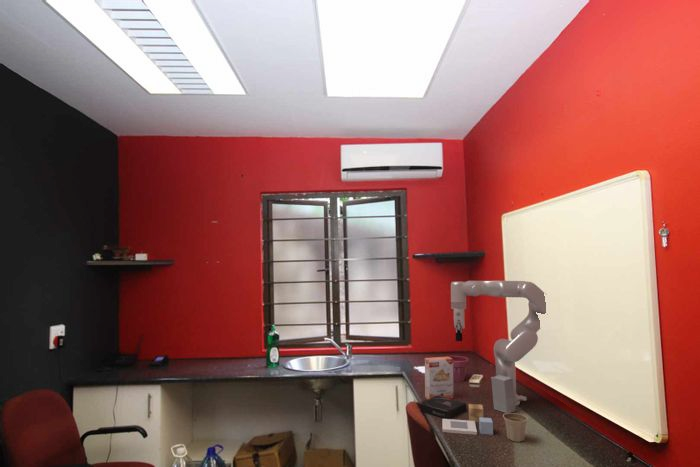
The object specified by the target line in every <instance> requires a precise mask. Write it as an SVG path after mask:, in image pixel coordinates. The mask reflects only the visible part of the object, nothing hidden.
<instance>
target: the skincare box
mask: <svg viewBox="0 0 700 467" xmlns="http://www.w3.org/2000/svg"><path fill="white" fill-rule="evenodd" d="M490 381H491V389H492V392H491V393H492V401H493V402H492V403H493V410H496V411H498V412H501V413H503V414H506V413H515V412H516V411H517V410H516V408H517V406H515V397H514V386H513V378H510V377H506V376H502V375H498V376H496V375H494V376H491V377H490Z"/></svg>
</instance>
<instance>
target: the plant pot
mask: <svg viewBox="0 0 700 467" xmlns="http://www.w3.org/2000/svg"><path fill="white" fill-rule="evenodd" d="M446 357H450V358H452V359H453V382H459V383H460V382H465V379H466V374H467V369H468V367H469V363H470V362H469V358H468V357H466V356H463V355H462V356H460V355H447V356H446Z"/></svg>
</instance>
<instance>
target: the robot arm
mask: <svg viewBox="0 0 700 467" xmlns="http://www.w3.org/2000/svg"><path fill="white" fill-rule="evenodd" d="M544 293H545V292H544V291H543V289H541V287H539V286H538V285H537V284H535V283H533V282H532V281H525V280H467V281H451V283H450V308H451V309H453V325H454V328H455V341H456V342H462V341H463V330H465V326H466V325H465V324H466V323H465V310H467V296H471V297H477V296H488V297H496V298H525V299H526V300H528V304H527V305H528V313H527V316H526V317H525V318H524V319H523V320H522V321H521V322H519V323H518V324H517V325H516V326H515V327H514V328H513V329H512V330H511V331H510V334H509V335H510V339H511V340H509V339H506V338H499V339H497V340H496V341H495V343H494V345H493V355H494V360H495V361H494V362H495V363H494V364H495V376H498V375H502V376H506V377H510V378H513V386H514V397H515V407H517V406H519V405H520V403H521V401H527V400H528V399H527V396H523V394H522V395H521V394H520V395H518V393H517V380H516V379H517V378H516V370H517V369H516V363H517V362H519V361H520V360H522V358H523V359H524V357H525V356H526V355H527V354H528V353H529V352H531V351H532V350H533V349H534V348H535V347H536V346H537V344H538V341H539V337H538V334H537V333H538V332H539V331H540V330H541V328H540V320H539V318H538V315H537V314H536V312H537V313H541V314H545V313H546V302H545V296H544Z"/></svg>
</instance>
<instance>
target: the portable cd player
mask: <svg viewBox="0 0 700 467" xmlns="http://www.w3.org/2000/svg"><path fill="white" fill-rule="evenodd" d="M418 405H419V407H420V409H421V411H422V412H421V413H424V414H427V415H430V416H433V417H435V418H436V417H437V418H438V419H441V420H442V419H453V418H455V417H456V416H458V415H461V414H462V413H464V412H467V410H468V408H467V403H466V402H463V401H459V400H455V399H448V398H444V397H440V396H435V397H432V398H430V399H427V398H426V399H425V400H422V401H420V402H418V403H417V406H418Z"/></svg>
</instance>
